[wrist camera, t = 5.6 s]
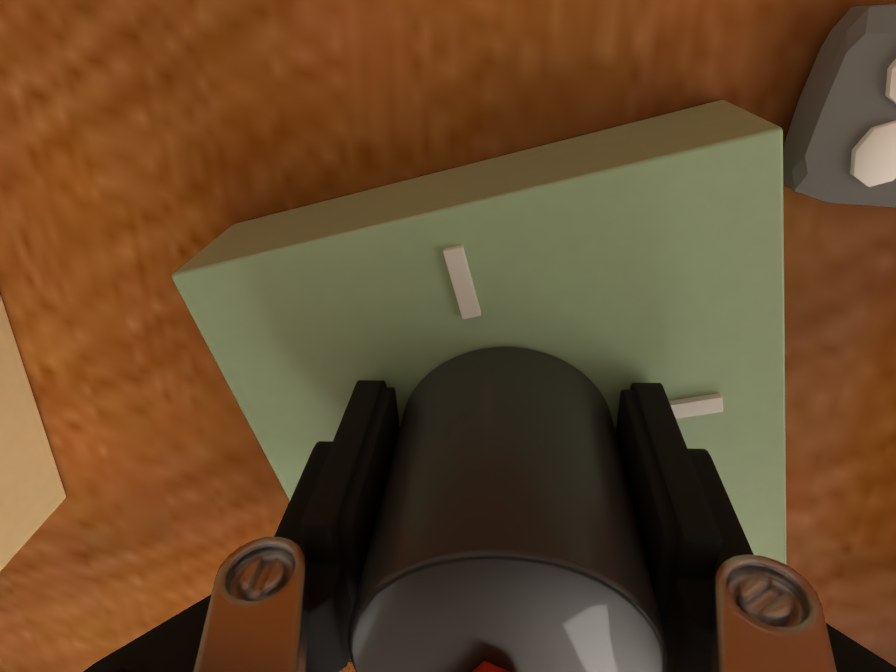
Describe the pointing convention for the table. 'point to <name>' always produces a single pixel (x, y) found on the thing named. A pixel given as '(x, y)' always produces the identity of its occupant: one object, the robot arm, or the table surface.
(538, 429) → the black knob
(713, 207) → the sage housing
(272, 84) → the table surface
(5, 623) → the table surface
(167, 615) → the table surface
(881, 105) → the key chain
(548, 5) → the table surface
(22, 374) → the plate
